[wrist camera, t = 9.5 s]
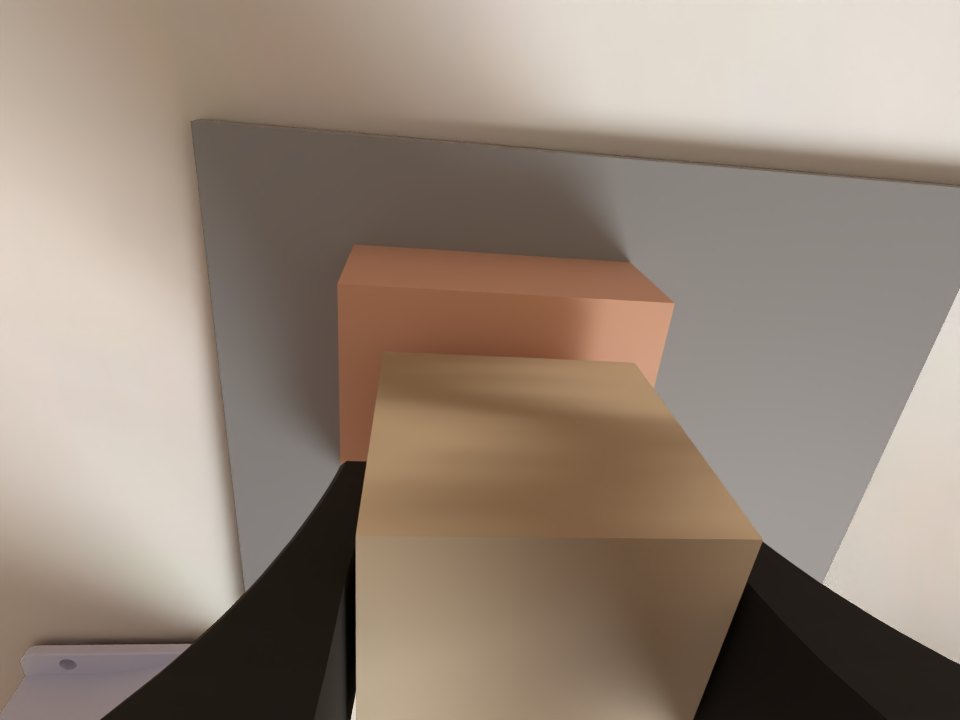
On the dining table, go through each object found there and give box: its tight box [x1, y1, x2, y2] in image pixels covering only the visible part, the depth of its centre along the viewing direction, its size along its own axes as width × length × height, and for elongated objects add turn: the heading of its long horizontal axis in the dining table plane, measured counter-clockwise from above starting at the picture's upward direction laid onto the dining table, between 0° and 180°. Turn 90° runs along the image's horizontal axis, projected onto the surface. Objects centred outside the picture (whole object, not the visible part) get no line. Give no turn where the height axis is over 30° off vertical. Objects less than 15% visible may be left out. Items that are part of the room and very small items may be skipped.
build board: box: [191, 119, 960, 592], centre depth 17 cm, size 20×18×4 cm
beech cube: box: [356, 351, 763, 720], centre depth 10 cm, size 5×5×5 cm
